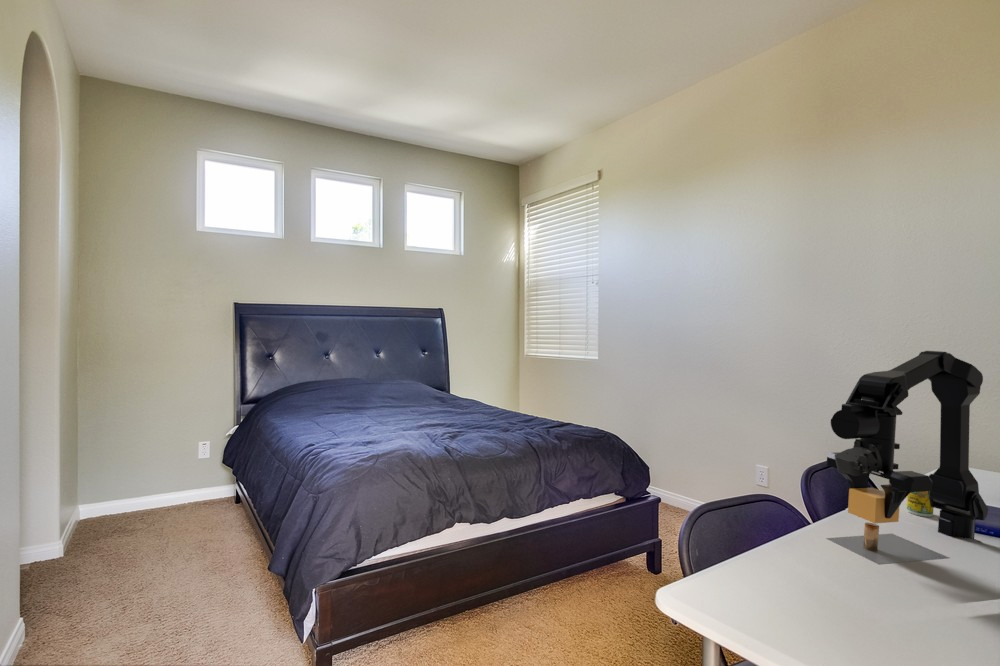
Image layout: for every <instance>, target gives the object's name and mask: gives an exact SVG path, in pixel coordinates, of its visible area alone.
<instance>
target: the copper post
mask: <svg viewBox="0 0 1000 666" xmlns="http://www.w3.org/2000/svg"><path fill="white" fill-rule="evenodd" d="M863 529H864V530H863V531H864V532H863V536H864V544H863V548H864V549H866V550H869V551H878V536H879V534H880V525H878V524H877V523H872V522H864V527H863Z"/></svg>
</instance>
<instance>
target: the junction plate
mask: <svg viewBox="0 0 1000 666" xmlns="http://www.w3.org/2000/svg"><path fill="white" fill-rule="evenodd" d="M825 539H826V540H828V541H830V542H832V543H834V544H836V545H838V546H840V547H842V548H845V549H847V550H849V551H850V552H852V553H854V554H857V555H859V556H861V557H863V558H865V559H867V560H869V561H871V562H873V563H874V564H877V565H887V564H899V563H908V562H909V563H910V562H921V561H922V562H923V561H931V560H932V561H934V560H943V559H950V556H946V555H944V554H943V553H940V552H937V551H935V550H932V549H930V548H928V547H925V546H922V545H920V544H918V543H915V542H913V541H910V540H909V539H906V538H904V537H901V536H899V535H897V534H894V533H879V536H878V551H869V550H866V549H864V548H863V544H864V535H852V536H839V537H826V538H825Z"/></svg>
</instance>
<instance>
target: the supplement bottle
mask: <svg viewBox="0 0 1000 666" xmlns="http://www.w3.org/2000/svg"><path fill="white" fill-rule="evenodd" d="M906 511H907V513H910V514H912V515H915V516H918V517H926V518H931V517H933V516H934V508H933V507H931V505H930V500H929V494H928V491H925V492H911V493H910V494H909V495H908V496H907V497H906Z"/></svg>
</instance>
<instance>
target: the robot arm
mask: <svg viewBox="0 0 1000 666" xmlns="http://www.w3.org/2000/svg"><path fill="white" fill-rule="evenodd" d="M926 380H929V381H930V386H931V392H932V393H933V395H934V396H935V397H936V399H937V401H938V402H939V403H940V429H939V431H940V432H939V435H940V437H939V442H940V443H939V467H937V469H936V470H935V471H934V472H933V473H930V474H929V475H926V474H923V473H920V472H916V471H912V470H904V471H903V470H900V471H899V464H898V463H894V461H895V450H900V448H901V447H900V445H901V444H900V443H897V442H896V431H897V430H896V427H897V416H902V415H903V411H902V409H900V408H899V407H898V405H900V403H902V402H903V401H904V400H906V399H907V398H908V397H909V390H910V389H911V388H914V387H915V386H917V385H919V384H921V383H922V382H924V381H926ZM983 383H984V375H983V373H982V372H981V371H980V370H979V369H978V368H977V367H976V366H974V365H973V364H972V363H969V362H966V361H965V360H962V359H960V358H957V357H955V356H954V355H953V354H951V353H950V352H947V351H938V350H936V351H935V350H924V351H920V352H919V354H918V355H917V356H915V357H913V358H911V359H909V360H907V361H905V362H903V363H901V364H900V365H897V366H895V367H893V368H892V369H889V370H883V371H873V372H869V373H865V374H863V375H861V376H860V378H859V379H858V381H857V382H856V384H855V386H854V388H853V390H851V393H850V395H849V396H848V398H847V400H846V402H845V403H842V404H841V409H840V410H838V411H836V412H835V413H834V414H832V417H831V419H830V426H831V429H832V432H833V433H834V434H835V435H836V436H837V437H838V438H840V439H842V440H854V439H855V440H854V442H853V447H851V448H847V449H844V450H843V451H840V452H830V453H829V454H828V455H827V457H826V466H828V467H832V468H835V469H837V470H836V472H837V473H839V474H841V476H843V477H844V479H846V481H847V482H848V485H849V489H852V488H868V484H869V479H870V475H874V476H877V477H880V478H883V479H886V480H888V484H880V486H881V489H882V491H884V492H885V507H884V512H885V518H891V517H892V516H893V514H894V513H895V511H896V510H897V508H898V507H899V508H900V506H901V504H902V503H903V502H904V500H905V499H907V496H908V495H909V494H910V493H911V492H925V491H928V494H929V500H930V505H931V507H933V509H934V508H935V509H938V510H939V516H938V524H937V525H938V526H937V532H938V533H939V534H942V535H945V536H947V537H951V538H959V539H971V540H973V541H976V542H978V543H983V542H982V541H981V540H979V539H975V533H976V521H977V520H978V521H985V520H986V518H988V517H987V516H988V512H989V507H988V505H987V504H986V502H985V501H984V499H983V497H982V495H981V494H980V490H979V489H980V488H979V483H978V481H977V479H976V478H975V476H974V475H973V473H972V472H971V471H970V468H969V464H970V461H969V460H970V454H969V453H970V414H971V413H970V412H971V411H970V409H971V404H972V403H973V402H974V401H975V399H976V398H978V396H979V395H980V393H981V387H982V385H983ZM895 470H897V471H895Z"/></svg>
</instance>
